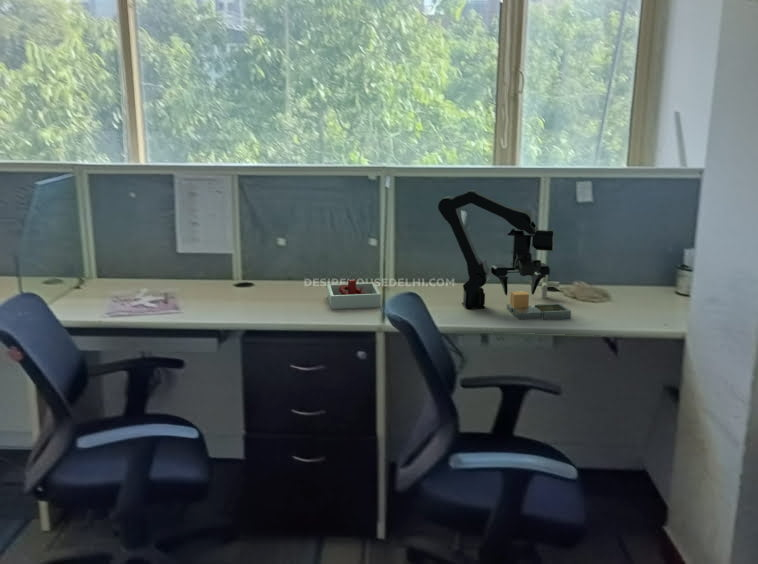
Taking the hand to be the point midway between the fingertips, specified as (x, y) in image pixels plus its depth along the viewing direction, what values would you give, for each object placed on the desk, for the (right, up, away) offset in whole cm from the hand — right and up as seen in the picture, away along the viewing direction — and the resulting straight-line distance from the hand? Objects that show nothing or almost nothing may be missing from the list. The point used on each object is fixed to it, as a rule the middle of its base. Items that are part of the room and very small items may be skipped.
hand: (519, 294), depth 246 cm
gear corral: (-56, -3, +12) cm, 57 cm away
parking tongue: (0, -5, +1) cm, 5 cm away
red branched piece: (-55, -3, +12) cm, 57 cm away
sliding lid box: (+6, -7, -5) cm, 10 cm away
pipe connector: (+12, -2, +17) cm, 21 cm away
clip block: (0, -4, +1) cm, 4 cm away
